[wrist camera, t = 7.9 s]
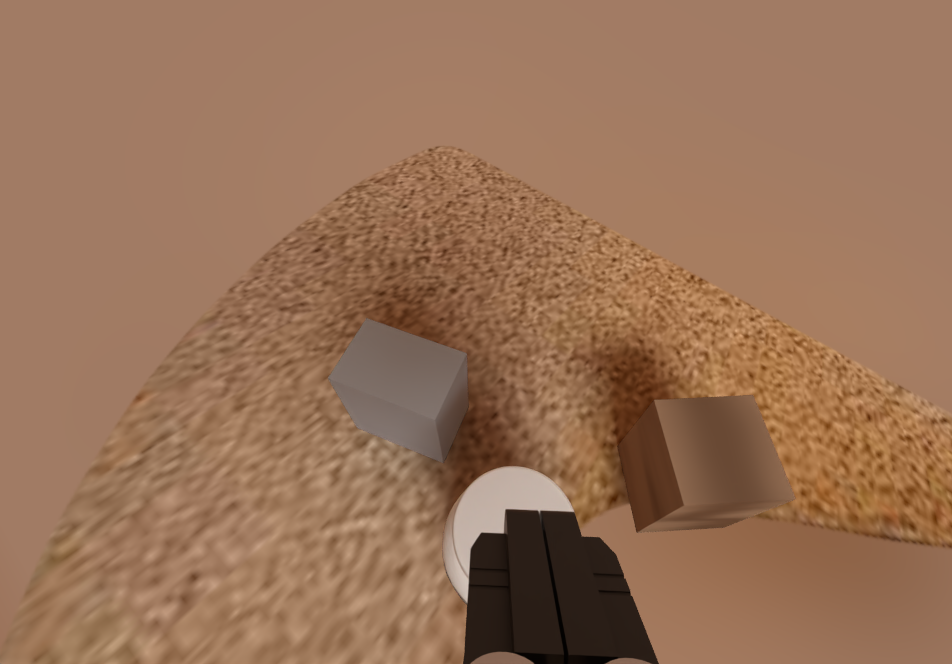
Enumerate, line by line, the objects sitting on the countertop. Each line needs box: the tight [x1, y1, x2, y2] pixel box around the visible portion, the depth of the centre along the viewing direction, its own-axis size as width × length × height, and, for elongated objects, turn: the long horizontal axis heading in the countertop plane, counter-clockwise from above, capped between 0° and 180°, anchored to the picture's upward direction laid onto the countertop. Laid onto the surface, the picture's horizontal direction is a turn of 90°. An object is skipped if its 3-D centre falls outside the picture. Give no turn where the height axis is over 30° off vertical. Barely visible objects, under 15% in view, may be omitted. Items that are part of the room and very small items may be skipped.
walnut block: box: [617, 395, 796, 533], centre depth 24 cm, size 5×5×7 cm
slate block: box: [328, 318, 469, 463], centre depth 27 cm, size 6×4×7 cm, turn 68°
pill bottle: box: [442, 466, 574, 605], centre depth 21 cm, size 6×6×10 cm
